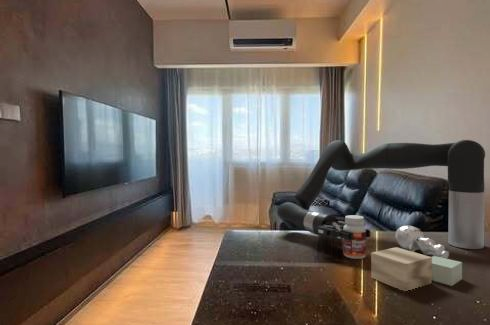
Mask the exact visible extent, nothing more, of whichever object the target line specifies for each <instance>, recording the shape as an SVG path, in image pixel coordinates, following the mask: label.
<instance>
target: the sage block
mask: <svg viewBox="0 0 490 325" xmlns="http://www.w3.org/2000/svg"><path fill="white" fill-rule="evenodd" d="M431 257H432V281H433V282H435V283H440V284H444V285H447V286H451V287H453V286H454V285H455V284H457V283H459V282H460V281H462V279H463V262H462V261H458V260H454V259H450V258H447V259H446V258H441V257H437V256H433V255H432V256H431Z"/></svg>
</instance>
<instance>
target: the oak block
mask: <svg viewBox="0 0 490 325" xmlns="http://www.w3.org/2000/svg"><path fill="white" fill-rule="evenodd" d="M370 254H371V255H370V256H371V258H370V260H371V263H370V264H371V266H370V273H371V274H370V276H371V279H373V280H375V279H376V280H375V281H378V282H381V283H382V284H386V285H388V286H391V287H392V288H395V289H397V288H398V290H399V291H402V290H403V291H402V292H405V291H408V290H411V291H413V290H412V289H414V290H416V289H415V288H417V289H419V288H418V287H420V288H422V286H423V287H425V285H426V286H427V285H428V284H429V285H432V284H431V283H432V281H433V280H432V257H433V256H430V255H425V254H421V253H418V252H416V251H415V252H412V251H410V250H407V249H404V248H402V247H398V246H397V247H396V246H395V247H392V248H387V249H382V250H378V251H373V252H371V253H370ZM408 292H409V291H408Z"/></svg>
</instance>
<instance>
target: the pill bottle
mask: <svg viewBox="0 0 490 325" xmlns="http://www.w3.org/2000/svg"><path fill="white" fill-rule="evenodd" d="M344 223H347V224H346V225H345V226H344V227H343V230H345V231H349V232H352V233H353V240H351V241H350V240H347V239H344V238H342V239H343V241H342V242H343V244H342V245H343V246H342V247H343V249H342V250H343V251H342V253H343V255H344V256H345V257H346V258H349V259H356V260H360V259H364V258H366V255H367V241H366V240H367V237H366V229H367V228H366V226H364V224H365V217H364V216H362V215H354V214H352V215H351V214H350V215H345V217H344Z"/></svg>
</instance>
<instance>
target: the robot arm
mask: <svg viewBox="0 0 490 325" xmlns="http://www.w3.org/2000/svg"><path fill="white" fill-rule="evenodd" d="M349 148H350V147H348V145H347V143H346V142H345V141H344V140H340V139H337V140H333V141H331V142H329V144H327V145H326V146H325V148H324V149H323V152H322V153H321V155H320V157H319V159H318V160H317V162H316V164H315V166H314V167H313V169H312V171H311V173H310V175H309V176H308V177H307V179H306V180H305V182H304V183H303V184H302V185H301V187H300V188H299V189H298V190H297V191H296V192H295V194H294V200H295V203H293V202H290V201H286V202H283V203H281V204H280V205H279V206H278V207H277V212H276V213H277V216H278V218H279V219H280V220H281V221H282V222H283V224H285V225H286V226H287V227H288V228H289V229H290V230H296V229H300V230H303V231H306V232H309V233H310V234H313V235H316V236H318V237H322V238H325V239H332V240H334V239H336V238H337V239H343V238H344V239H347V240H350V241H351V240H353V233H352V232H349V231H345V230H343V227H344V226H345V225H346V224H347V223H345V221H342V220H341V221H340V220H338V218H337V217H336V216H335V215H333V214H331V213H326V212H322V211H318V210H317V211H316V210H310V208H311V206H312V205H313V203H314V202H315V201H316V199H317V198H318V197H319V195H320V193H321V192H322V190H323V187H324V185H325V181H326V178H327V176H328V173H329V171H330V169H333V170H335V171H340V172H342V171H354V170H365V169H366V170H367V169H369V170H371V169H385V170H386V169H389V170H392V169H394V170H403V169H417V168H426V167H447V183H448V227H447V228H448V232H447V233H448V234H447V236H448V238H447V239H448V241H447V242H448V244H449V245H451V246H453V247H456V248H461V249H469V250H482V249H483V248H485V247H484V246H485V158H486V151H485V148H484V147H483V146H482V145H481V143H478V142H477V141H475V140H471V139H463V140H458V141H456V142H447V143H438V144H436V143H435V144H432V143H431V144H428V143H418V142H417V143H416V142H389V143H383V144H381V145H379V146H377V147H375V148H373V149H371V150H370V151H367V152H364V153H363V152H362V153H352V152H351V151H350V149H349ZM370 237H371V230H370V229H369V228H366V238H370Z"/></svg>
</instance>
